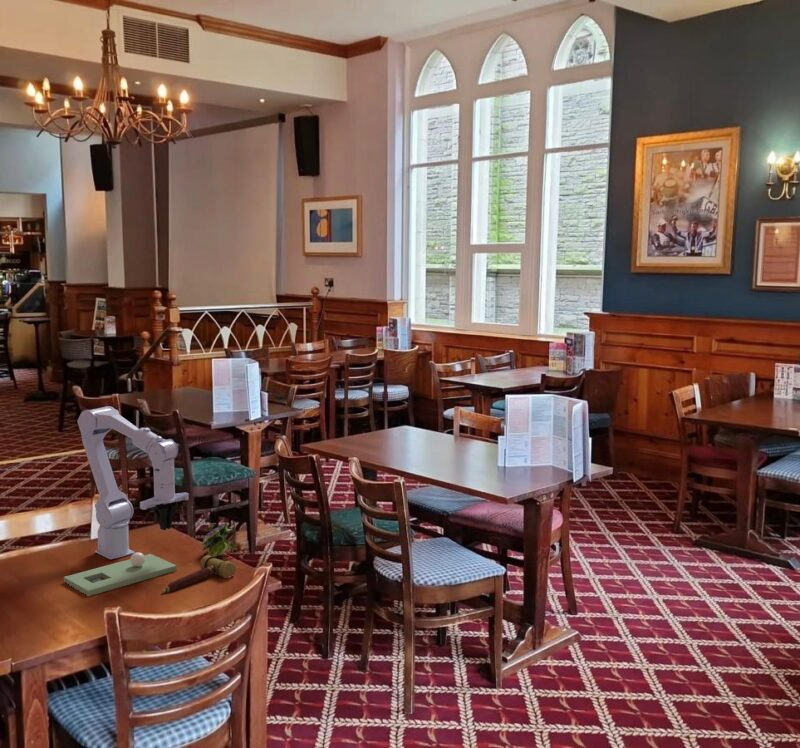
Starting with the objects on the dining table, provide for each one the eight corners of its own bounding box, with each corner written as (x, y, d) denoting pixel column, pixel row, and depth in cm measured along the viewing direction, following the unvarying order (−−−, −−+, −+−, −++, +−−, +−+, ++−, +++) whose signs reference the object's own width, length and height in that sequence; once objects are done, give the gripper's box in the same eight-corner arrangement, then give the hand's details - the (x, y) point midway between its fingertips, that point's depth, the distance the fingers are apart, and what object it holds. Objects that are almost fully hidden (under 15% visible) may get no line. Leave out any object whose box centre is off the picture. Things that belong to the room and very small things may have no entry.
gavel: (173, 587, 212) (150, 578, 218) (175, 604, 213) (151, 595, 219) (235, 560, 229) (211, 552, 235) (236, 575, 230) (213, 567, 236)
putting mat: (64, 582, 223) (63, 576, 223) (150, 558, 242) (150, 553, 242) (88, 596, 214) (88, 590, 213) (176, 570, 232) (176, 565, 232)
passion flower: (211, 568, 249) (215, 530, 255) (244, 565, 247) (247, 526, 252) (192, 558, 240) (197, 519, 246) (226, 554, 237) (230, 515, 243)
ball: (127, 566, 231) (127, 552, 231) (140, 563, 234) (140, 549, 234) (134, 570, 228) (134, 556, 228) (148, 566, 231) (147, 552, 231)
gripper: (148, 489, 227) (150, 537, 229) (194, 480, 238) (195, 526, 239) (135, 485, 232) (137, 531, 233) (180, 476, 242) (181, 521, 244)
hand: (165, 528), depth 237 cm, fingers closed
